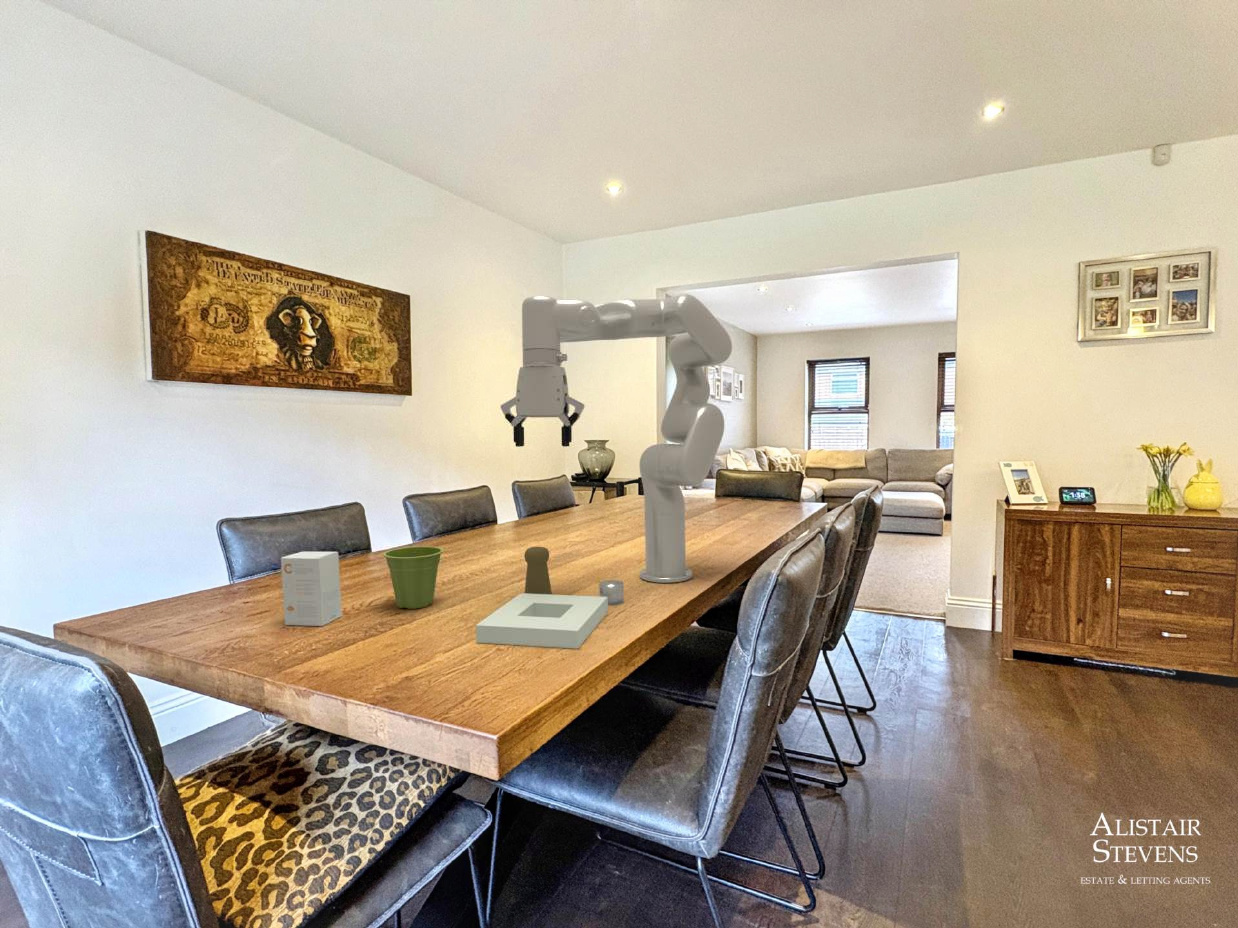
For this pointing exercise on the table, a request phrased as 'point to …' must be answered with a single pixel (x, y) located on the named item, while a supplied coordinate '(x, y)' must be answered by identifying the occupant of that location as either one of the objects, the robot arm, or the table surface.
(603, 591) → the short metal pin
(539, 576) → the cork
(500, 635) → the hole board
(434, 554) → the plant pot
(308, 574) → the small box
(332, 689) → the table surface
